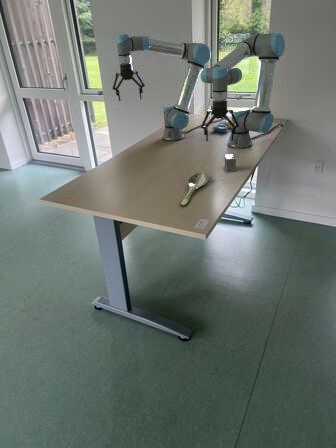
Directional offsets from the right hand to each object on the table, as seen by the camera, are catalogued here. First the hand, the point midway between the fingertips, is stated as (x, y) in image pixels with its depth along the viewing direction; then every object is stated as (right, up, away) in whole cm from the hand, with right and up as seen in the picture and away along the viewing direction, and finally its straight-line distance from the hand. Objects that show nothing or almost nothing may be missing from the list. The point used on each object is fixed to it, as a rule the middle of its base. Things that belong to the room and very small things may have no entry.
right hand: (219, 140), depth 183 cm
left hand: (-52, +34, +31) cm, 70 cm away
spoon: (-15, -29, -13) cm, 35 cm away
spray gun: (+15, +27, +74) cm, 80 cm away
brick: (+7, -15, +6) cm, 18 cm away
